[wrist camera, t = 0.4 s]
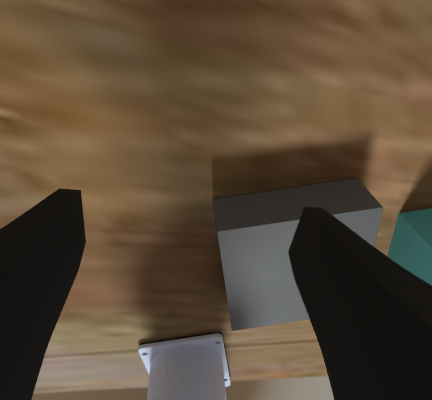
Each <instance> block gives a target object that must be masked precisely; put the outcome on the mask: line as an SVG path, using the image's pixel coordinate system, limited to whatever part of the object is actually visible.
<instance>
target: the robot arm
mask: <svg viewBox="0 0 432 400" xmlns="http://www.w3.org/2000/svg"><path fill="white" fill-rule="evenodd" d="M85 243H86V239H85V229H84V219H83V208H82V198H81V190H70V189H58V190H57V191H55V192H54V193H52V194H51V195H49V196H48V197H47V198H45V199H44V200H42V201H41V202H40V203H38V204H37V205H35V206H34V207H33V208H31V209H30V210H28V211H27V212H25V213H24V214H22V215H21V216H19V217H18V218H17V219H15V220H14V221H12V222H11V223H9V224H8V225H6V226H5V227H3V228H1V229H0V400H31V399H32V395H33V392H34V388H35V385H36V382H37V378H38V375H39V372H40V368H41V365H42V362H43V358H44V355H45V352H46V349H47V346H48V343H49V341H50V338H51V335H52V333H53V330H54V328H55V326H56V323H57V321H58V318H59V316H60V314H61V311H62V309H63V306H64V304H65V302H66V299H67V297H68V294H69V292H70V289H71V287H72V285H73V282H74V280H75V277H76V275H77V272H78V269H79V266H80V262H81V258H82V255H83V251H84V247H85ZM288 253H289V258H290V263H291V267H292V271H293V276H294V279H295V282H296V285H297V287H298V290H299V292H300V295H301V298H302V300H303V303H304V306H305V308H306V311H307V313H308V316H309V318H310V321H311V323H312V326H313V329H314V331H315V334H316V336H317V339H318V342H319V345H320V348H321V351H322V354H323V358H324V362H325V365H326V369H327V373H328V376H329V380H330V384H331V388H332V391H333V396H334V400H432V285H430V284H428V283H427V282H425V281H424V280H422V279H420V278H419V277H417V276H415V275H414V274H412V273H411V272H409V271H408V270H406V269H405V268H403V267H402V266H400V265H399V264H397V263H396V262H394V261H393V260H391V259H390V258H389V257H387V256H386V255H384V254H383V253H382V252H380V251H379V250H377V249H376V248H375V247H373V246H372V245H371V244H369V243H368V242H367V241H365V240H364V239H363V238H361V237H360V236H359V235H358V234H356V233H355V232H354V231H352V230H351V229H350V228H349V227H347V226H346V225H345V224H343V223H342V222H341V221H339V220H338V219H337V218H335V217H334V216H333V215H331V214H330V213H329V212H327V211H326V210H324V209H322V208H317V207H304V209H303V212H302V214H301V217H300V220H299V223H298V226H297V228H296V231H295V234H294V237H293V240H292V242H291V245H290V248H289V251H288ZM138 352H139V354H140V356H141V358H142V361H143V363H144V365H145V367H146V369H147V372H148V374H149V386H148V399H147V400H227V399H226V390H225V387H228V386H229V385H230V383H231V382H230V376H229V371H228V365H227V360H226V354H225V349H224V343H223V337H222V335H221V334H219V333H216V334H209V335H203V336H196V337H189V338H183V339H176V340H169V341H163V342H156V343H149V344H143V345H140V346H139V348H138Z"/></svg>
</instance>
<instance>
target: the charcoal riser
mask: <svg viewBox="0 0 432 400" xmlns="http://www.w3.org/2000/svg"><path fill="white" fill-rule="evenodd" d="M213 206H214V213H215V220H216V226H217V233H218V240H219V247H220V254H221V260H222V267H223V274H224V280H225V287H226V294H227V301H228V307H229V314H230V321H231V327H232V331H234V330H241V329H247V328H254V327H261V326H267V325H274V324H281V323H287V322H294V321H301V320H307V319H310V318H309V316H308V313H307V311H306V308H305V306H304V303H303V300H302V298H301V295H300V292H299V290H298V287H297V285H296V282H295V279H294V276H293V271H292V267H291V263H290V258H289V253H288V251H289V248H290V245H291V242H292V240H293V237H294V234H295V231H296V228H297V226H298V223H299V220H300V217H301V214H302V212H303V209H304V207H317V208H322V209H324V210H326V211H327V212H329V213H330V214H331V215H333V216H334V217H335V218H337V219H338V220H339V221H341V222H342V223H343V224H345V225H346V226H347V227H349V228H350V229H351V230H352V231H354V232H355V233H356V234H358V235H359V236H360V237H361V238H363V239H364V240H365V241H367V242H368V243H369V244H371V245H372V246H373V247H374V246H375V241H376V237H377V232H378V228H379V223H380V219H381V214H382V210H383V207H382V206H381V205H380V203H379V202H378V201H377V200H376V199H375V198H374V197H373V196H372V195H371V193H370V192H369V191H368V190H367V189H366V188H365V187H364V186H363V185H362V183H361V182H360V181H359V180H358V179H357V178H353V179H346V180H340V181H333V182H326V183H319V184H312V185H305V186H299V187H292V188H285V189H278V190H271V191H265V192H258V193H251V194H244V195H237V196H231V197H224V198H217V199H213Z"/></svg>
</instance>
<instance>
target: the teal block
mask: <svg viewBox="0 0 432 400" xmlns="http://www.w3.org/2000/svg"><path fill="white" fill-rule="evenodd" d="M388 257H389V258H390V259H391V260H393V261H394V262H396V263H397V264H399V265H400V266H402V267H403V268H405V269H406V270H408V271H409V272H411V273H412V274H414V275H415V276H417V277H419V278H420V279H422V280H424V281H425V282H427V283H428V284H430V285H432V208H429V209H423V210H416V211H409V212H402V213H399V214H398V218H397V222H396V226H395V230H394V234H393V238H392V241H391V245H390V249H389V253H388Z"/></svg>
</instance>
